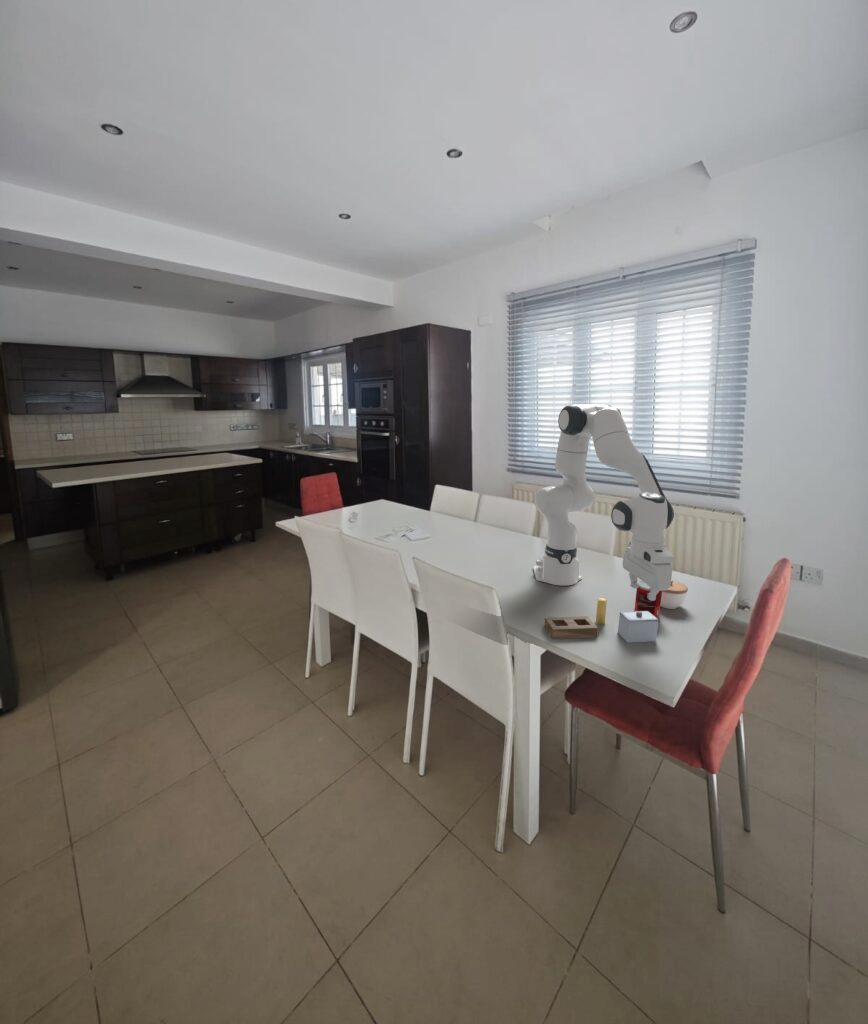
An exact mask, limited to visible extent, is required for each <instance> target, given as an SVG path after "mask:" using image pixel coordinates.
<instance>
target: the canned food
mask: <svg viewBox="0 0 868 1024" xmlns="http://www.w3.org/2000/svg"><path fill="white" fill-rule="evenodd" d="M638 583H639V585H638V588H636V592H635V601H634V610H633V611H649V612H650V613H651V614H652V615H653V616H655V617H656V618H657V619H659V616H660V611H661V606H660V604H661V597H662V591H659V592H658V593H657V595H656V600H654V601H651V600H649V599H648V598H647V594H648V593H650V591H651V589H650V586H649V585H648V584H646V583H645V582H643V581H642V580H640V581H638Z"/></svg>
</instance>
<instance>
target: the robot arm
mask: <svg viewBox="0 0 868 1024" xmlns="http://www.w3.org/2000/svg"><path fill="white" fill-rule="evenodd" d="M557 421H558V427H559V429H560V431H561V432H560V436H559V438H558V444H557V449H556V456H555V463H554V468H555V470H556V472H557V473H558V474H559V475H561V476H562V484H557V485H548V486H545V487H543V488H540V489H537V491H536V493H535V495H534V505H535V508H536V509H537V511H538V512H540V513H541V514H542V516H543V517H544V518H545V522H546V525H547V542H546V546H545V548H544V549H545V550H544V552H543V554H542V555H540V556H539V558H538V559H537V560H536V562H535V563H536V564H535V565H534V566H532V571H533V573H534V577H535V580H536V581H538V582H544V583H547V584H550V585H554V586H572V585H575V584H577V583H578V582H579V581H581V580H582V579H583V577H582V576H581V574H580V560H579V559H578V558H577V553H578V548H577V535H578V528H577V527H576V525H575V524H573V523H572V522H571V521H570V520H569V513H574V512H581V511H584V510H587V509H589V508H592V506H593V505H594V502H595V497H596V495H595V491H594V490H593V488H592V487H591V486H590V485H589V483H588V480H587V477H586V466H587V458H588V450H589V444H590V440H591V439H592V442H593V443H592V444H593V446H594V447H593V448H594V451H595V455H596V457H597V458H598V460H599V462H601V464H603V465H604V466H606V467H609V468H610V469H615V470H618V471H620V472H623V473H626V474H628V475H629V476H631V477H632V478H633V479H634V480H635V483H636V484H637V486H638V488H639V491H640V492H641V493H638V494H637V495H636V496H635V497H633V498H629V499H623V500H618V501H617V502H616V503H615V504H614V505H613V507H612V509H611V513H610V514H611V518H610V519H611V523H612V524H613V526H614V527H615V528H616V529H618V530H619V531H623V532H631V533H632V534H631V539H630V541H629V542H628V543H627V546H626V548H625V550H624V553H623V559H622V568H623V569H624V570H625V571H627V572H629V579H630V587H631V588H632V589H637V588H638V585H639V583H638V582H639V581H638V579H639V580H640V581H643V582H645V583H646V584H648V585H649V586H650V589H651V591H650V593H648V594H647V598H648V599H649V600H651V601H654V600H656V595H657V593H658V592H659V591H663V590H668V589H669V587H670V584H671V580H672V576H673V567H672V564H674V562H675V556H674V554H673V553H672V552H671V551H670V550H669V549H668V547H667V546H666V545H665V542H666V538H665V531H666V530H667V529H668V528H669V526H671V524H672V522H673V521H674V518H675V512H674V507H673V506H672V504H671V503H670V501H669V500H668V499H667V497H666V495H665V493H664V492H663V489H662V488H661V486H660V483H659V481H658V479H657V476H656V475H655V473H654V471H653V468H652V466H651V464H650V462H649V460H648V459H647V457H646V456H645V455H644V454H643V453H642V452H640V451H639V450H638V449H637V447H636V446H635V445H634V443H633V441H632V439H631V437H630V434H629V430H628V427H627V425H626V423H625V420H624V418H623V415H622V412H621V410H620V408H619V407H616V406H614V405H610V404H606V405H605V404H599V403H588V404H587V403H586V404H585V403H584V404H574V403H573V404H568V405H565V406H564V407H563V408H562V409H561V411H560V412H559V415H558V420H557Z"/></svg>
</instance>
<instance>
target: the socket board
mask: <svg viewBox="0 0 868 1024" xmlns="http://www.w3.org/2000/svg"><path fill="white" fill-rule="evenodd" d="M543 625H544V628H545V630H546V631H547V633H548V634H549V635H550V637H551V638H552V639H553V640H554V639H571V638H575V639H576V638H598V635H599V634H598V633H599V627H598V626H597V625H596V624H595V622H593V621H592V619H591V618H590V617H589V616H588V615H581V616H580V615H578V616H557V617H556V616H552V617H551V616H548V617H544V624H543Z"/></svg>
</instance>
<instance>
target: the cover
mask: <svg viewBox="0 0 868 1024" xmlns="http://www.w3.org/2000/svg"><path fill="white" fill-rule="evenodd" d="M659 621H660V620H659V618H656V617H655V616H653V615H652V614H651V613H650V612H649V611H634V610H633V611H619V618H618V627H617V634H619V636H620V637H621V638H622V639H624V641H625V642H626V643H641V642H642V643H643V642H644V643H646V642H657V636H658V629H659Z"/></svg>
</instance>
